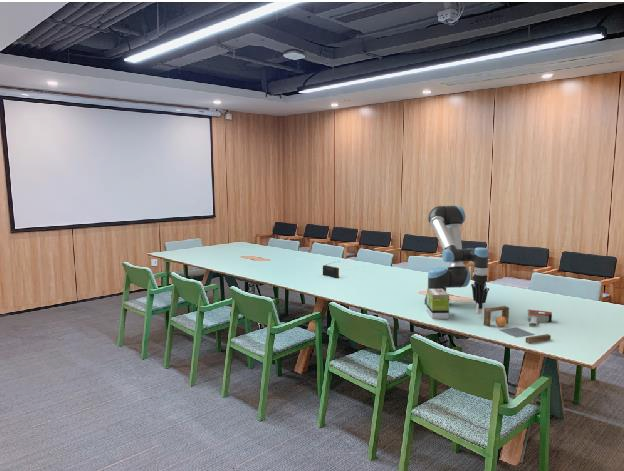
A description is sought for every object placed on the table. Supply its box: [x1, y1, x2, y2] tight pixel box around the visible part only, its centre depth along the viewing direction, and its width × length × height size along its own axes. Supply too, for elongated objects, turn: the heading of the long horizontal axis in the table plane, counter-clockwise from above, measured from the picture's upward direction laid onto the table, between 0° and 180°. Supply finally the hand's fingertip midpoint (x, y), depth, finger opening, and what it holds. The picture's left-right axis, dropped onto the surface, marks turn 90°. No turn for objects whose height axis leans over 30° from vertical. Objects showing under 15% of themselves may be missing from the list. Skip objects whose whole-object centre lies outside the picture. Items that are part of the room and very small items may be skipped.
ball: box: [495, 315, 507, 327], centre depth 244 cm, size 6×6×6 cm
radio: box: [322, 261, 340, 279], centre depth 373 cm, size 19×3×15 cm, turn 43°
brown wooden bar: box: [525, 333, 552, 344], centre depth 221 cm, size 2×14×2 cm, turn 110°
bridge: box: [483, 305, 510, 327], centre depth 248 cm, size 3×14×9 cm, turn 110°
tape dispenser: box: [527, 309, 553, 328], centre depth 253 cm, size 18×5×20 cm
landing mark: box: [499, 326, 535, 338], centre depth 234 cm, size 12×12×1 cm
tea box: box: [426, 288, 450, 320], centre depth 264 cm, size 15×10×15 cm, turn 178°
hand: (478, 313), depth 261 cm, fingers closed
